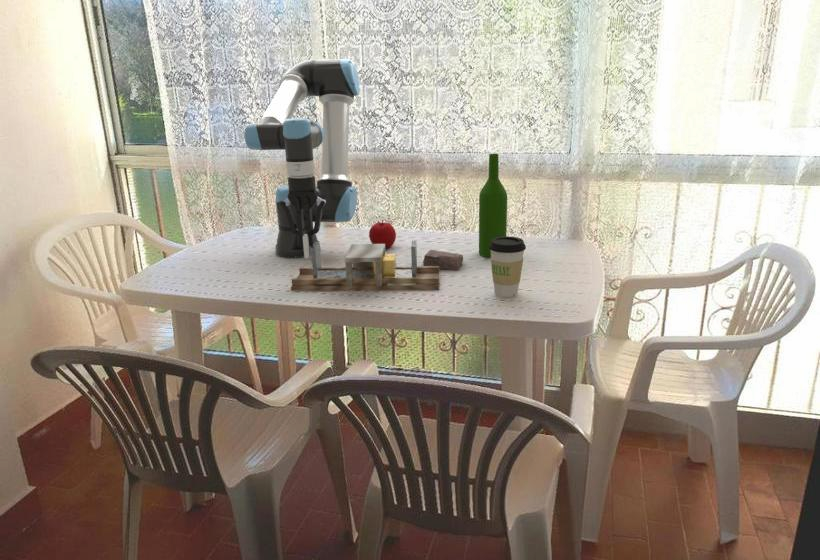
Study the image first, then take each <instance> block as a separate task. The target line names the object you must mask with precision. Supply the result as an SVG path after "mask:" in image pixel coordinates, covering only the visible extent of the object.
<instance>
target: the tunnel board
mask: <svg viewBox="0 0 820 560" xmlns="http://www.w3.org/2000/svg"><path fill="white" fill-rule="evenodd" d="M383 254H386V248H385V244H372V243H364V244H363V243H352V244H351V245H350V247H349V249H348V251H347V253H346V256H345V257H344V264H345V265H344V266H345V267H342V266H340V267H339V266H338V267H337V266H336V267H333V266H332V267H321V269H322V270H346V278H318V279H313V267H299V268H298V273H299V274H298V276H297V277H296V278H292V279H291V286H290V291H291V292H302V291H304V292H313V291H314V292H315V291H316V292H318V291H319V292H320V291H321V292H323V291H324V292H325V291H326V292H327V291H330V292H331V291H333V292H335V291H417V290H418V291H421V290H423V291H430V290H431V291H433V290H440V269H439V266H424V265H422V266H421V265H420V266H419V265H417V277H416V278H382V262H381V260H382V256H383ZM373 262H375V269H376V278H353V273H352V270H374V264H373ZM396 269H412V266H396Z"/></svg>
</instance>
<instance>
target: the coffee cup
mask: <svg viewBox="0 0 820 560" xmlns="http://www.w3.org/2000/svg"><path fill="white" fill-rule="evenodd" d="M526 247H527V246H526V243H525V242H524V239H522V238H520V237H517V236H507V235H506V237H497V238H494V239H492V240H491V243H490V244H489V249H490V251H491V258H490V265H491V273H492V274H491V275H492V282H493V287H494V295H495V296H497V297H500V298H513V297H517V296H518V293H519V285H520V282H521V276H522V271H523V263H524V252H525V250H526Z"/></svg>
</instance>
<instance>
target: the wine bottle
mask: <svg viewBox="0 0 820 560" xmlns="http://www.w3.org/2000/svg"><path fill="white" fill-rule="evenodd" d="M499 171H500V170H499V154H498V153H490V154H488V178H487V180H486V182H485V184H484V185H483V186H482V188H481V189H480V192H479V195H478V196H479V199H478V207H479V208H478V254H479V256H481V257H483V258H487V259H491V251H490V249H489V244H490V243H491V240H492V239H494V238H497V237H506V236H507V229H508V228H507V225H508V224H507V223H508V221H507V220H508V193H507V190H506V189H505V187H504V185H503V183H502V182H501V179H500V177H499Z"/></svg>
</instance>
